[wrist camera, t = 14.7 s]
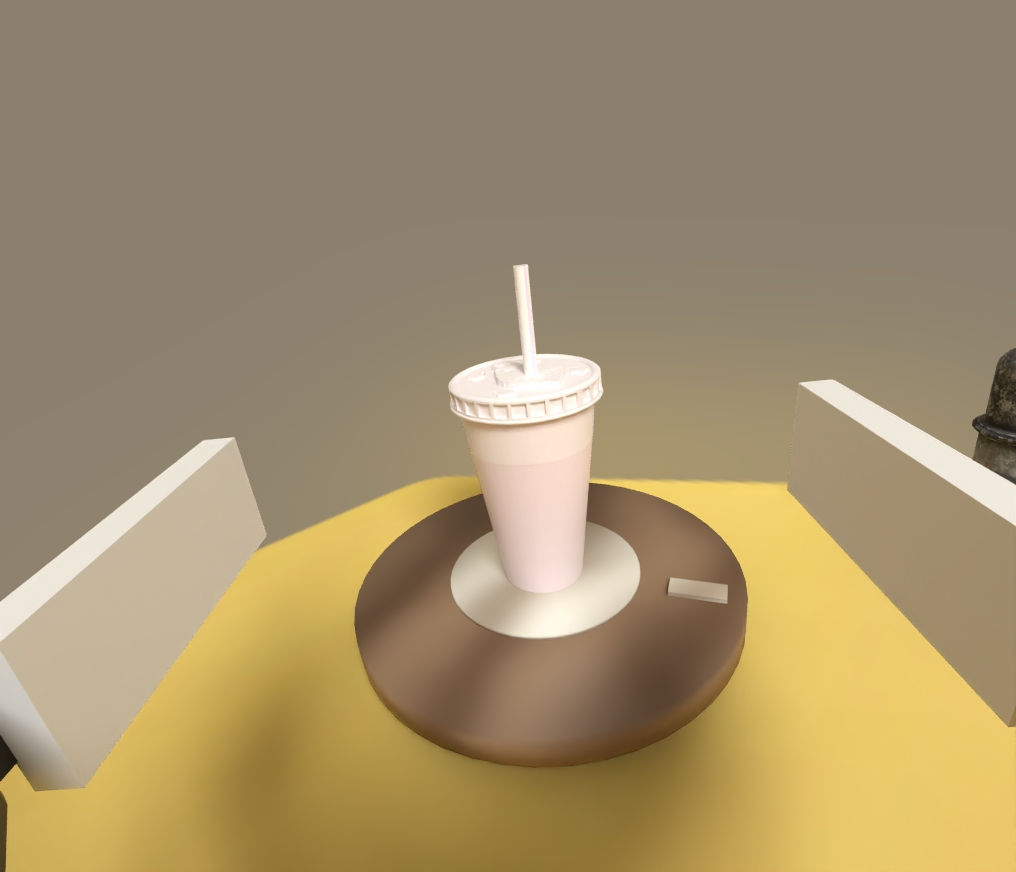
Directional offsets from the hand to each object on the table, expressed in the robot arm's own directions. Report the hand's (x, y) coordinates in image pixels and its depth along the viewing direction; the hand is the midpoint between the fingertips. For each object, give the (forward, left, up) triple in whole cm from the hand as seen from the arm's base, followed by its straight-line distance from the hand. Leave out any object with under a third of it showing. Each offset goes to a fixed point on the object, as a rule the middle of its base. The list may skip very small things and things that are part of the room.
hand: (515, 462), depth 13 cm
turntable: (-3, +10, -12) cm, 16 cm away
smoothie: (-3, +10, -11) cm, 15 cm away
